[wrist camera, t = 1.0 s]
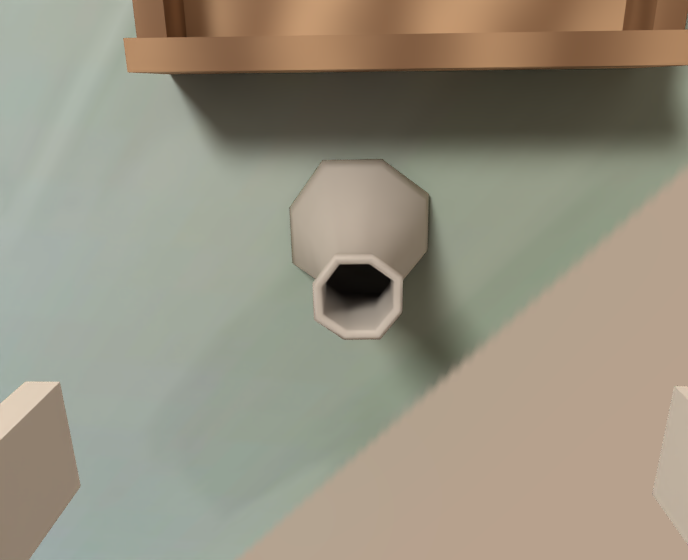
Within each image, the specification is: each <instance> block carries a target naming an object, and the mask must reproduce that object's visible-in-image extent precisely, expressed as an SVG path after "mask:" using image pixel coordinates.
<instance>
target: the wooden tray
mask: <svg viewBox="0 0 688 560" xmlns="http://www.w3.org/2000/svg"><path fill="white" fill-rule="evenodd" d="M132 1H133V10H134V18H135V26H136V34H137V38H123V39H124V47H125V55H126V62H127V70H128V72H133V73H154V74H224V73H299V72H375V71H450V70H525V69H601V68H646V67H664V66H683V65H688V30H685V24H686V19H687V13H688V0H132Z"/></svg>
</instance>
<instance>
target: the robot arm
mask: <svg viewBox="0 0 688 560" xmlns="http://www.w3.org/2000/svg"><path fill="white" fill-rule="evenodd" d="M79 488H80V481H79V476H78V471H77V466H76V461H75V456H74V451H73V446H72V441H71V436H70V431H69V426H68V421H67V416H66V411H65V406H64V401H63V396H62V391H61V386H60V382H25V383H23V384H22V385H21V386H20V387H19V388H18V389H17V390H15V391H14V392H13V393H12V394H11V395H10V396H9V397H7V398H6V399H5V400H4V401H3V402H2V403H1V404H0V560H29V559H30V557H31V556H32V554H33V553H34V552H35V550H36V549H37V547H38V546H39V544H40V543H41V542H42V540H43V539H44V537H45V536H46V535H47V533H48V532H49V530H50V529H51V527H52V526H53V525H54V523H55V522H56V520H57V519H58V518H59V516H60V515H61V513H62V512H63V510H64V509H65V508H66V506H67V505H68V503H69V502H70V501H71V499H72V498H73V496H74V495H75V493H76V492H77V491H78V489H79ZM652 494H653V496H654V497H655V499H656V500H657V502H658V503H659V505H660V506H661V507H662V509H663V510H664V512H665V513H666V515H667V516H668V517H669V518H670V520H671V522H672V523H673V525H674V526H675V527H676V529H677V530H678V532H679V533H680V535H681V536H682V537H683V539H684V540H685V542H686V543H687V545H688V386H675V387H674V391H673V396H672V400H671V405H670V410H669V415H668V420H667V425H666V429H665V435H664V439H663V444H662V449H661V454H660V459H659V464H658V469H657V474H656V479H655V483H654V488H653V493H652Z"/></svg>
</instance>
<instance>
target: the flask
mask: <svg viewBox="0 0 688 560" xmlns="http://www.w3.org/2000/svg"><path fill="white" fill-rule="evenodd" d="M428 211H429V194H428V193H427V192H426V191H424V190H423V189H422V188H420V187H419V186H418V185H416V184H415V183H413V182H412V181H411V180H409V179H408V178H407V177H405V176H404V175H403V174H401V173H400V172H399V171H397V170H396V169H395V168H393V167H392V166H391V165H389V164H388V163H387V162H385V161H384V160H383V159H361V160H322V162H321V163H320V164H319V166H318V167H317V169H316V170H315V172H314V173H313V175H312V176H311V177H310V179H309V180H308V182H307V183H306V185H305V186H304V187H303V189H302V190H301V192H300V193H299V195H298V196H297V198H296V199H295V200H294V202H293V203H292V205H291V206H290V227H291V246H292V263H293V264H295V265H296V266H297V267H299V268H300V269H302V270H303V271H305V272H306V273H308V274H309V275H311V276H312V277H314V278H315V281H314V282H313V306H314V320H315V321H317V322H318V323H320V324H321V325H323V326H324V327H326V328H327V329H329V330H330V331H332V332H333V333H335V334H336V335H338V336H339V337H341V338H342V339H344V340H353V339H381V338H382V337H383V335H384V334H385V333H386V332H387V330H388V329H389V328H390V327H391V326H392V324H393V323H394V322H395V321H396V319H397V318H398V317H399V316H400V315H401V313H402V309H403V280H404V279H405V278H406V276H407V275H408V274H409V273H410V271H411V270H412V269H413V268H414V266H415V265H416V264H417V263H418V261H419V260H420V259H421V258H422V256H423V255H424V254H425V253H426V251H427V246H428Z"/></svg>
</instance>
